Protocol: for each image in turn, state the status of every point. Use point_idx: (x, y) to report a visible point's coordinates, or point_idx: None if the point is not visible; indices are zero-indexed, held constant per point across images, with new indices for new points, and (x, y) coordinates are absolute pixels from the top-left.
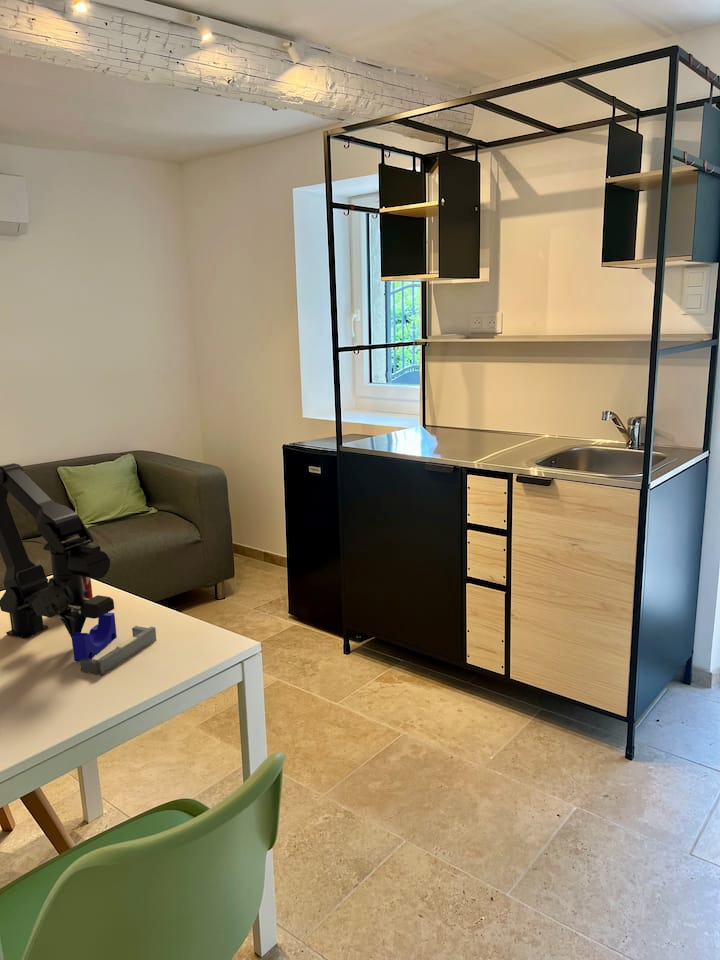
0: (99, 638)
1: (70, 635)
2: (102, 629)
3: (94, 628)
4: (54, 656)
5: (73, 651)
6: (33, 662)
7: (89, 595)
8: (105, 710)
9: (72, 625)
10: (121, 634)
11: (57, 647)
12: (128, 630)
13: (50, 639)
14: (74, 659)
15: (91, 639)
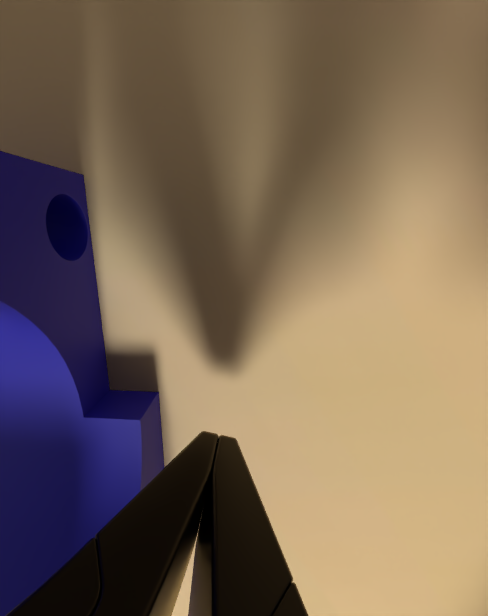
0: (32, 477)
1: (240, 465)
2: (10, 581)
3: None
4: (302, 236)
5: (7, 155)
6: (439, 89)
7: None
8: None
9: (101, 593)
10: None
11: (361, 382)
12: None
13: (482, 489)
14: (69, 173)
15: (93, 462)
